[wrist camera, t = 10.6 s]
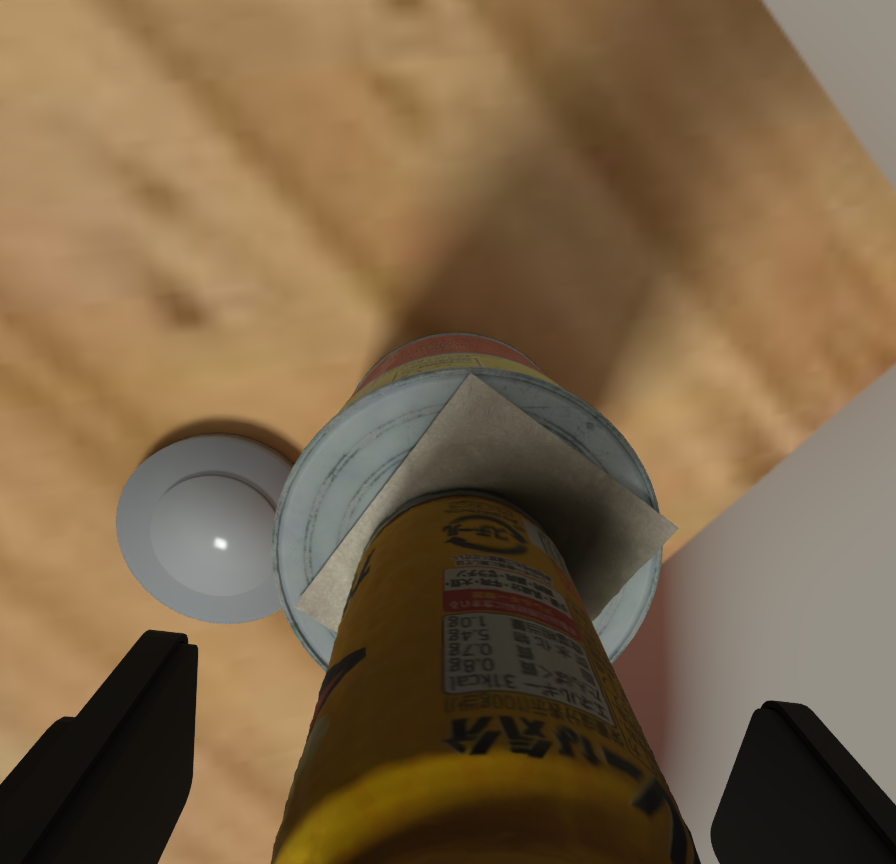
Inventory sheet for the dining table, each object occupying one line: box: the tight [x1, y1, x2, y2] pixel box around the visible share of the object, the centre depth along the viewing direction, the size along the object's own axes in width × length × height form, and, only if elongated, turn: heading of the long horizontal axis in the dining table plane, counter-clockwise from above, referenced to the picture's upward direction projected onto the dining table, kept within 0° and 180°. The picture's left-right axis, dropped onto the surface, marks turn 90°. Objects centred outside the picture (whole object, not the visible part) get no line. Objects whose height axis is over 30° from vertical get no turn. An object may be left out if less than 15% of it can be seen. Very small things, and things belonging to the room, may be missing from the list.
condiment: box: [271, 373, 701, 864], centre depth 10 cm, size 7×8×12 cm
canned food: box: [271, 333, 662, 672], centre depth 22 cm, size 11×11×12 cm
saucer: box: [116, 433, 294, 624], centre depth 28 cm, size 10×10×1 cm
